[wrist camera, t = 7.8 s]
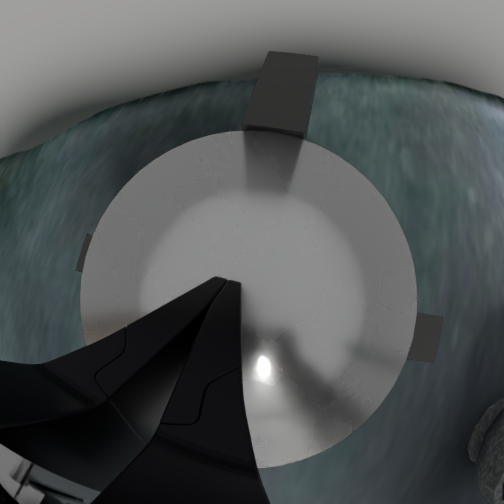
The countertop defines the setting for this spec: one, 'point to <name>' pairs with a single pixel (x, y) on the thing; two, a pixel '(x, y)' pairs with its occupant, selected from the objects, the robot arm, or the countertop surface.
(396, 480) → the countertop surface
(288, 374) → the steel lid
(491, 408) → the mortar and pestle
